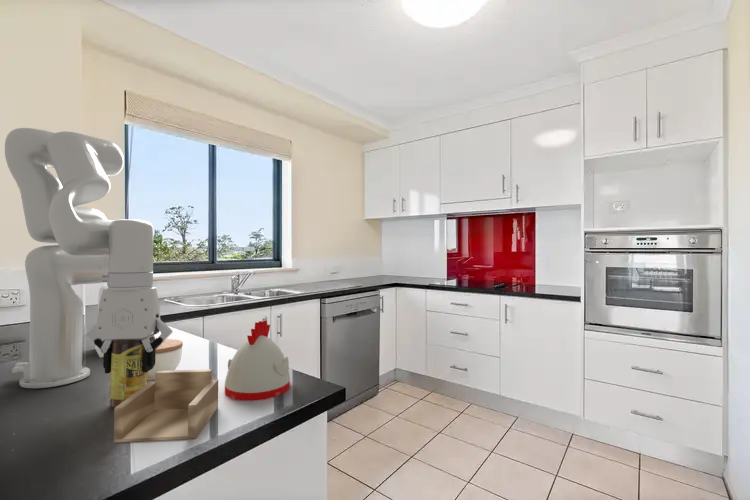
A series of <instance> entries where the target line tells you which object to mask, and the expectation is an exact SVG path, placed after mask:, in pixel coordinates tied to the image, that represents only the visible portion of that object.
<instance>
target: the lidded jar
mask: <svg viewBox="0 0 750 500" xmlns="http://www.w3.org/2000/svg"><path fill="white" fill-rule="evenodd" d="M158 337H159V336H158ZM158 337H157V336H156V337H155V339H157V338H158ZM183 345H184V344H183V341H182V340H180V339H176V338H175V339H172V338H167V339H165V341H164V342H163V343H162V344H161V345H159V346H158V348H157V349H156V357H155V365H154V367H153V369H151V370H150V371H148V378H147V381H149V380H151V381H152V380H154V381H155V373H156V372H157V371H173V370H177V368H178V367H179V365H180V362H181V359H182V355H183Z"/></svg>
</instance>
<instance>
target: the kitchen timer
mask: <svg viewBox="0 0 750 500" xmlns="http://www.w3.org/2000/svg"><path fill="white" fill-rule="evenodd" d="M270 327H271V324H268V320H263V321H258V322H255V323H254V328H250V333H251V335H247V340H246V341H244V342H243V343H242V345H240V347H239V348H238V349H237V350H236V352H235V354H234V355H233V357H232V359H231V358H229V359H228V362H227V373H226V376H225V381H224V394H225V397H228V398H229V399H233V400H235V401H236V400H237V401H244V402H245V401H246V402H247V401H251V402H252V401H263V400H267V399H272V398H275V397H278V396H280V395H283V394H285V393H286V392H287V391H288V390H289V389H290V383H291V381H290V380H291V377H290V366H289V365H290V364H289V363H290V362H289V358H288V356H285V355H284V353H283V352H282V349H281V348H280V347H279V345H277V344H276V342H274V340H272V339H271V338H269V332H270Z"/></svg>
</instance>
